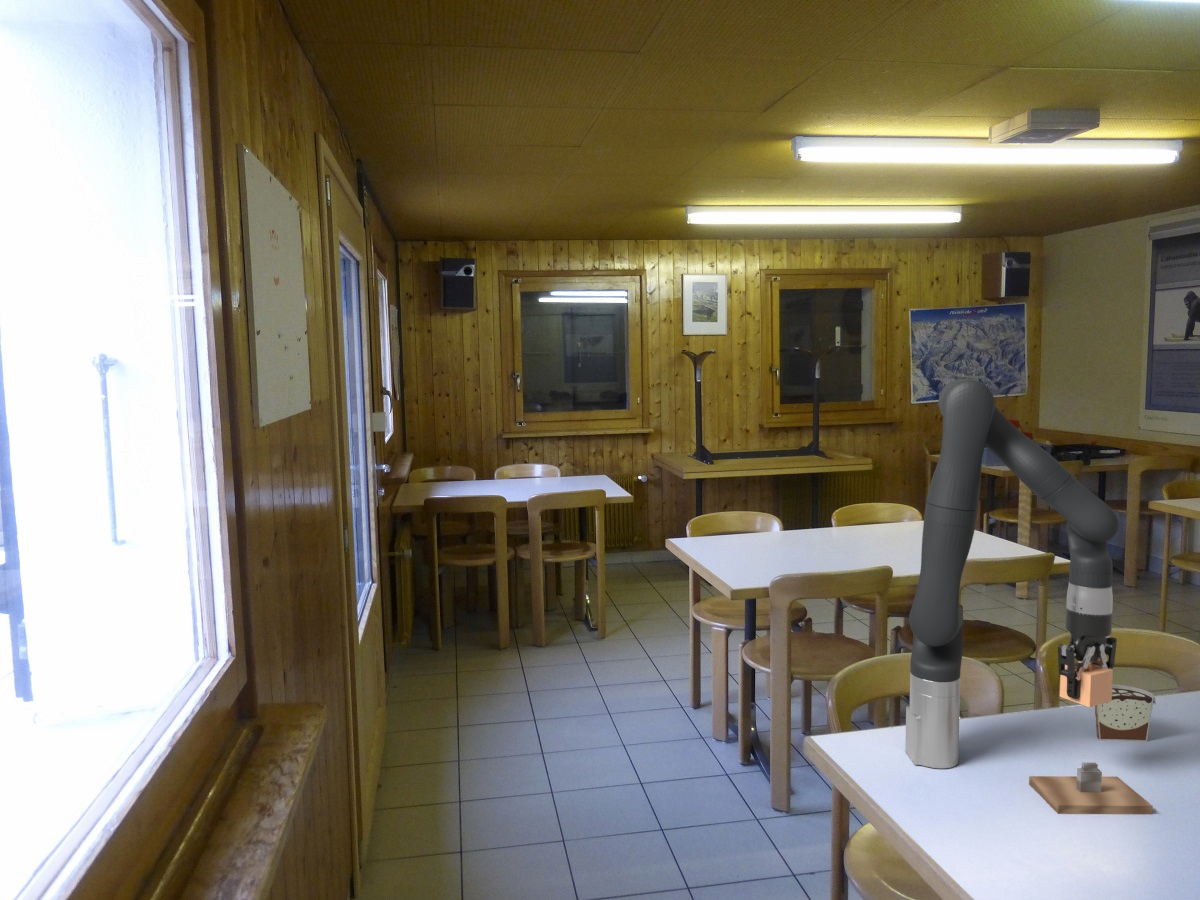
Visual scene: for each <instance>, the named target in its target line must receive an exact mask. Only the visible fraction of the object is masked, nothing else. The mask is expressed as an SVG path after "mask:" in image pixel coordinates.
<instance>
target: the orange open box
mask: <svg viewBox="0 0 1200 900" xmlns="http://www.w3.org/2000/svg"><path fill="white" fill-rule="evenodd" d="M1078 662H1079V663H1081V661H1078ZM1066 668H1067V665H1065V669H1066ZM1077 668H1078V667H1076V666H1075V673H1076V671H1077ZM1113 675H1114V669H1110V668H1109V669H1108V668H1105V667H1100V666H1098V665H1095V664H1090V662H1089V664H1088V667H1087V669H1085V670H1083V672H1082V676H1081V679H1080V680H1081V687H1080V698H1079V699H1074V698H1071V697H1068V695H1067V677H1066V676H1063V675H1060V678H1059V679H1060V680H1059V682H1060V683H1059V697H1060V698H1062V699H1065V700H1068V701H1070V702H1073V703H1077V704H1080V705H1082V706H1085V707H1087V708H1091V707H1095V706H1096V705H1100V704H1103V703H1107V702H1111V701H1112V684H1113V678H1114V676H1113Z"/></svg>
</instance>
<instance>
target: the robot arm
mask: <svg viewBox="0 0 1200 900" xmlns="http://www.w3.org/2000/svg"><path fill="white" fill-rule="evenodd" d="M995 401H996V400H995V395H994V394H993V392H992V390H991V389H990V388H989V387H988V385H987V384H985V383H983V382H981V381H979V380H976V379H972V378H958V379H954V380H953V381H952V380H951V382H948V383H947V384H946V385H945V386H944V387H943V388H942V390H941V391H940V393H939V397H938V401H937V402H938V408H939V412H940V414H941V416H942V418H943V419H942V438H941V449H940V454H939V458H938V461H937V464H936V467H935V470H934V471H933V476H932V478H931V482H930V484H929V488H928V491H927V496H926V502H925V510H924V516H923V525H922V526H923V527H922V538H921V539H922V540H921V551H920V553H921V555H920V556H921V557H920V559H921V560H920V572H919V576H918V577H919V578H918V582H917V585H916V586H917V587H916V589H915V595H914V598H913V602H912V605H911V609H910V611H909V618H908V622H909V626H910V629H911V631H912V635H913V637H912V638H913V639H912V649H911V654H910V665H909V667H910V669H909V671H910V672H909V674H910V675H909V677H910V678H909V706H908V705H907V706H906V707H905V708H906V709H905V747H904V748H905V754H906V755H907V756H908V757H909V759H910V760H911V762H912V763H913V764H914V765H915V766H924V767H927V768H932V769H950V768H954V767H956V766H957V765H958V763H959V755H960V751H959V746H960V744H959V743H960V712H961V711H960V707H961V699H960V698H961V672H962V671H961V669H962V661H963V659H962V658H963V641H964V640H963V639H964V636H963V635H964V613H963V612H964V611H963V609H962V606H961V604H960V588H961V581H962V576H963V572H964V569H965V566H966V563H967V559H968V556H969V553H970V550H971V545H972V543H973V539H974V533H975V531H976V524H977V518H978V517H977V516H978V511H979V504H980V493H981V483H982V464H983V463H982V462H983V455H984V451H985V447H986V448H987V449H988V450H990V451H991V452H992V453H993V454H994V455H995V456H996V457H997V458H998V459H999V460H1000V461H1001V462H1002V463H1003V464H1004V465H1005V466H1006V467H1007V468H1008V469H1009V470H1010V471H1011V472H1012V473H1013V474H1014V475H1015V476H1016V477H1017V478H1018V480H1019V481H1021V483H1023V485H1025V486H1026V487H1027V488H1028V490H1030V491H1031V492H1032V493H1033V494H1034V495H1035V496H1036V497H1038V499H1039V500H1041V501H1042V502H1043V503H1044V504H1046V505H1047V506H1048V507H1050V508H1051V509H1054V510H1055V511H1056V512H1057V513H1059V515H1060V516H1061V517H1063V519H1064V520H1065V521H1066V534H1067V542H1068V543H1067V544H1068V549H1069V556H1070V557H1069V559H1070V561H1069V567H1068V569H1069V570H1068V586H1067V591H1066V592H1067V593H1066V606H1065V607H1066V611H1065V629H1066V631H1067V632H1069V634H1070V640H1069V642H1068V643H1067V644H1062V643H1059V644H1058V646H1057V662H1058V664H1057V665H1058V675H1060V676H1061V675H1063V676H1066V677H1067V695H1068V697H1071V698H1074V699H1079V698H1080V687H1081V680H1080V679H1081V676H1082V672H1083V670H1085V669H1087V667H1088V664H1089V663H1090V664H1095V665H1098V666H1100V667H1105V668H1108V669H1111V670H1114V667H1115V659H1116V651H1117V642H1118V639H1117V637H1114V636H1111V634H1112V628H1113V609H1114V608H1113V607H1114V606H1113V605H1114V604H1113V603H1114V602H1113V601H1114V597H1113V594H1114V593H1113V586H1112V585H1113V560H1112V557H1111V556H1110V555H1109V552H1108V542H1109V541H1110V540H1112V539H1114V538H1115V537H1116V536H1117V534H1118V533H1119V530H1120V519H1119V517H1118V515H1117V513H1116V512H1115V510H1114V509H1112V508H1111V507H1110V505H1108V504H1107V503H1106V502H1105V501H1103V500H1102V499H1101V498H1099V496H1097V495H1095V494H1094V493H1093V492H1092V491H1091V490H1089V489H1088V488H1087V487H1085V486H1084V485H1083V484H1082V483H1080V481H1079V480H1077V478H1076V477H1075V476H1074V475H1073V474H1072V473H1071V472H1070V471H1069V470H1067V469H1066V468H1065V466H1063V465H1062V464H1061V463H1060V461H1058V460H1057V459H1056V458H1055V457H1053V456H1052V455H1051V454H1050V453H1049V452H1047V451H1046V450H1045V449H1044V448H1042V447H1041V446H1040V445H1038V444H1037V443H1036V442H1035V441H1033V440H1032V439H1030V437H1028V436H1026V435H1025V434H1024V433H1023V432H1022V431H1021V430H1019V429H1018V428H1017V427H1016V426H1015V425H1014V424H1013V423H1012V422H1011V421H1010V420H1008V419H1007V417H1006V416H1005V415H1004V414H1003V413H1002V412H1001V410H999V408H998V407H997V406H996V405H995V404H996V402H995ZM1107 656H1108V659H1107ZM1075 660H1076V661H1075ZM1080 661H1081V663H1079V662H1080ZM1065 665H1067V668H1066V669H1065ZM1075 666H1076V667H1078V668H1077V671H1076V673H1075Z"/></svg>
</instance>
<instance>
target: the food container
mask: <svg viewBox="0 0 1200 900" xmlns="http://www.w3.org/2000/svg"><path fill="white" fill-rule="evenodd" d="M1154 705H1157V701H1156V697H1155V694H1154V693H1153V692H1150V691H1148V690H1145V689H1142V688H1139V687H1136V686H1130V685H1124V684H1123V685H1122V684H1113V683H1112V701H1111V702H1107V703H1103V704H1100V705H1096V706H1094V716H1095V717H1094V718H1095V730H1096V738H1097V739H1098V741H1110V742H1111V741H1115V742H1117V741H1118V742H1122V741H1123V742H1146V743H1147V742H1148V738H1149V737H1148V736H1149V732H1150V724H1151V718H1152V713H1153V706H1154Z"/></svg>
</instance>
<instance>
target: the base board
mask: <svg viewBox="0 0 1200 900" xmlns="http://www.w3.org/2000/svg"><path fill="white" fill-rule="evenodd" d="M1098 766H1099V765H1098V763H1096V762H1081V768H1079V767H1076V776H1072V775H1071V776H1070V775H1069V776H1068V775H1067V776H1065V775H1064V776H1062V775H1061V776H1060V775H1058V776H1052V775H1050V776H1049V775H1047V776H1046V775H1045V776H1043V775H1042V776H1041V775H1037V776H1035V775H1033V776H1032V775H1029V778H1028V784H1029V786H1030V787H1031V788H1032V789H1034V791H1035V792H1036V793H1037V794H1038V795H1039V796H1040V797H1041V798H1042V799H1043V800H1044V802H1046V803H1047V804H1048V805H1049V806H1050V808H1052V810H1054V812H1056V814H1058V815H1059V814H1061V815H1062V814H1063V815H1065V814H1066V815H1067V814H1069V815H1072V814H1073V815H1074V814H1075V815H1078V814H1079V815H1082V814H1083V815H1102V814H1103V815H1153V808H1154V807H1153V805H1152V804H1151V803H1150V802H1149V801H1148V800H1146V799H1145V798H1144V797H1143V796H1142V795H1140V794H1139V793H1138V792H1137V791H1136V790H1134V789H1133V788H1132V787H1130V786H1129V785H1128V784H1127V783H1126V782H1124V781H1123V780H1122V779H1121V778H1120V777H1118V776H1103V772H1102V770H1100V769H1099V767H1098Z"/></svg>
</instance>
